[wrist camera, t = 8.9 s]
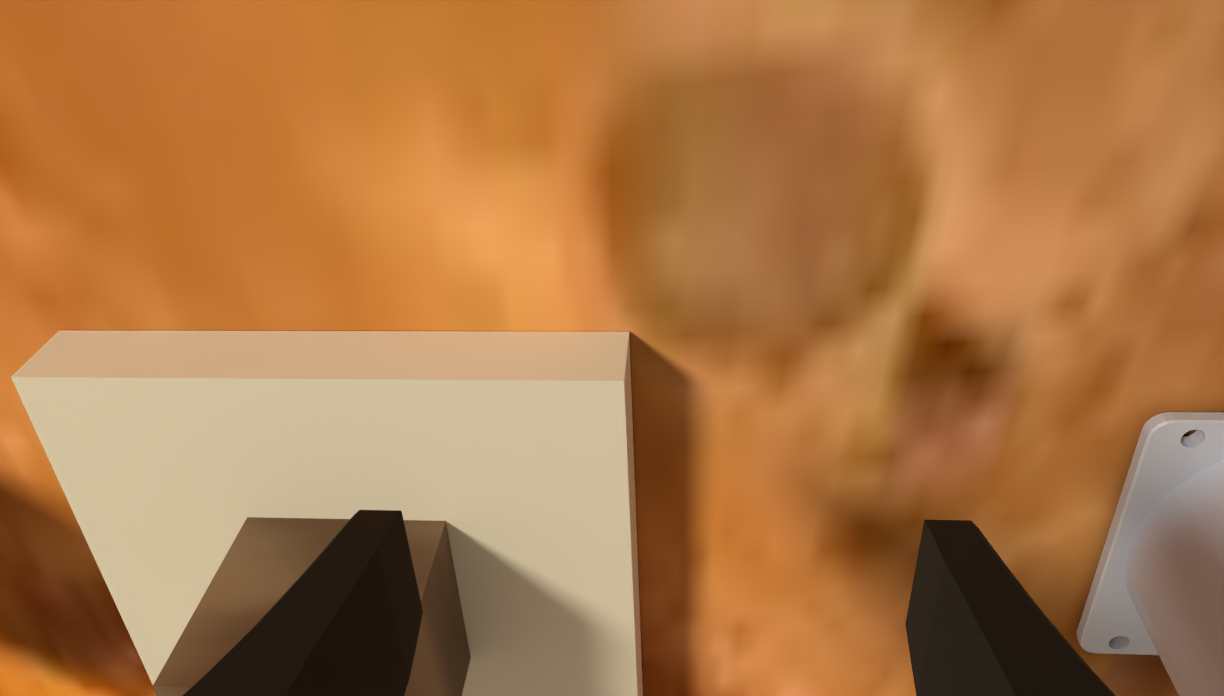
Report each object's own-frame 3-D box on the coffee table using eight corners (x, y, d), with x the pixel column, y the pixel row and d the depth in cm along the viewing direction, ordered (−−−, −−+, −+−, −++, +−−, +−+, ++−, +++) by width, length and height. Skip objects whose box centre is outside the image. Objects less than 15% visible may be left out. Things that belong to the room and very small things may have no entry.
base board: (629, 331, 23) (624, 380, 21) (643, 712, 30) (640, 771, 28) (59, 330, 24) (10, 376, 22) (211, 697, 31) (184, 752, 30)
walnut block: (445, 521, 23) (391, 694, 19) (470, 657, 26) (428, 835, 22) (247, 517, 24) (152, 686, 20) (292, 652, 27) (217, 826, 22)
